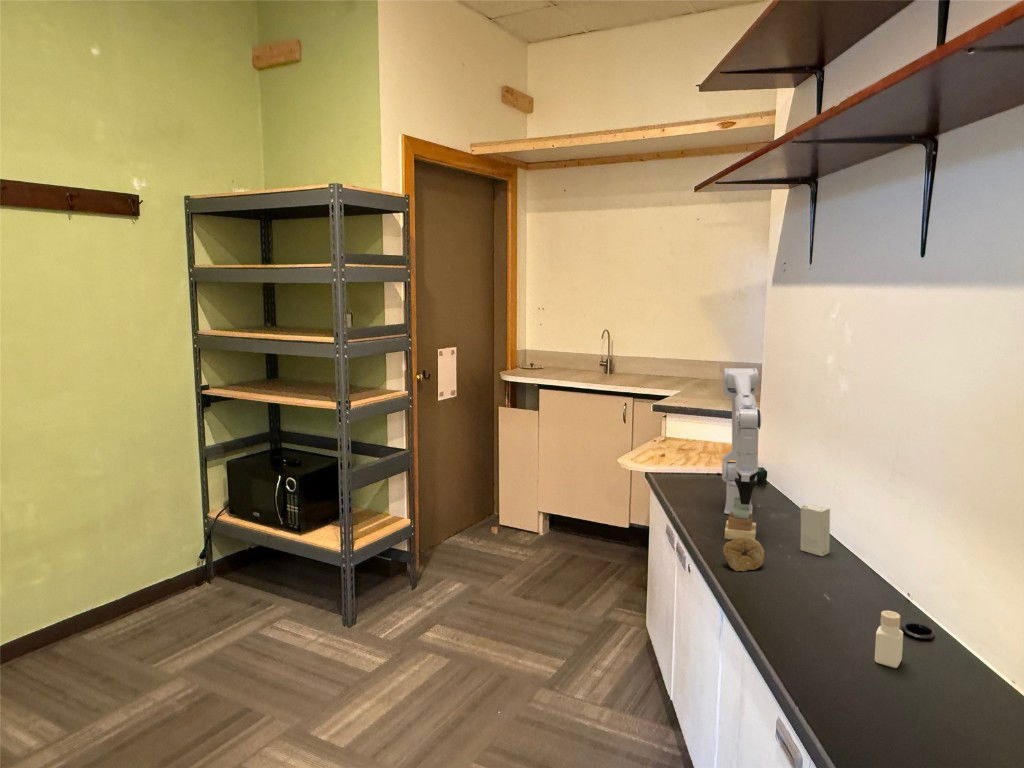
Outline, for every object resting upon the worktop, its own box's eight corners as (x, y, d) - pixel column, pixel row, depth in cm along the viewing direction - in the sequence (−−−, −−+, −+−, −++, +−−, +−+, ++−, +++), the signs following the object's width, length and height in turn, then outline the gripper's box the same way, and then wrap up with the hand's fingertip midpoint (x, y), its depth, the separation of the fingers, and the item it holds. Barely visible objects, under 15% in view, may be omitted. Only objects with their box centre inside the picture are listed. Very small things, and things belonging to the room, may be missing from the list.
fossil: (718, 542, 179) (753, 530, 181) (714, 550, 183) (750, 538, 184) (735, 574, 174) (772, 562, 176) (732, 581, 177) (768, 569, 179)
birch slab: (726, 530, 205) (726, 520, 204) (755, 532, 202) (756, 522, 202) (724, 540, 197) (724, 529, 197) (755, 543, 195) (755, 532, 194)
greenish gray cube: (734, 513, 201) (734, 495, 201) (748, 514, 200) (749, 497, 199) (733, 517, 198) (733, 500, 197) (748, 518, 196) (749, 501, 196)
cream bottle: (878, 654, 137) (881, 607, 135) (902, 660, 134) (905, 613, 133) (873, 663, 134) (876, 615, 132) (897, 670, 131) (900, 621, 130)
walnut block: (729, 521, 203) (729, 511, 203) (751, 523, 201) (752, 513, 201) (728, 528, 198) (728, 518, 197) (750, 531, 195) (751, 520, 195)
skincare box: (830, 552, 185) (831, 508, 184) (821, 557, 183) (823, 512, 181) (807, 546, 190) (809, 502, 188) (798, 550, 187) (800, 506, 186)
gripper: (733, 445, 203) (732, 491, 205) (730, 457, 190) (729, 506, 192) (759, 446, 201) (758, 493, 203) (758, 459, 187) (756, 509, 189)
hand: (745, 499), depth 197 cm, fingers open, 7 cm apart
